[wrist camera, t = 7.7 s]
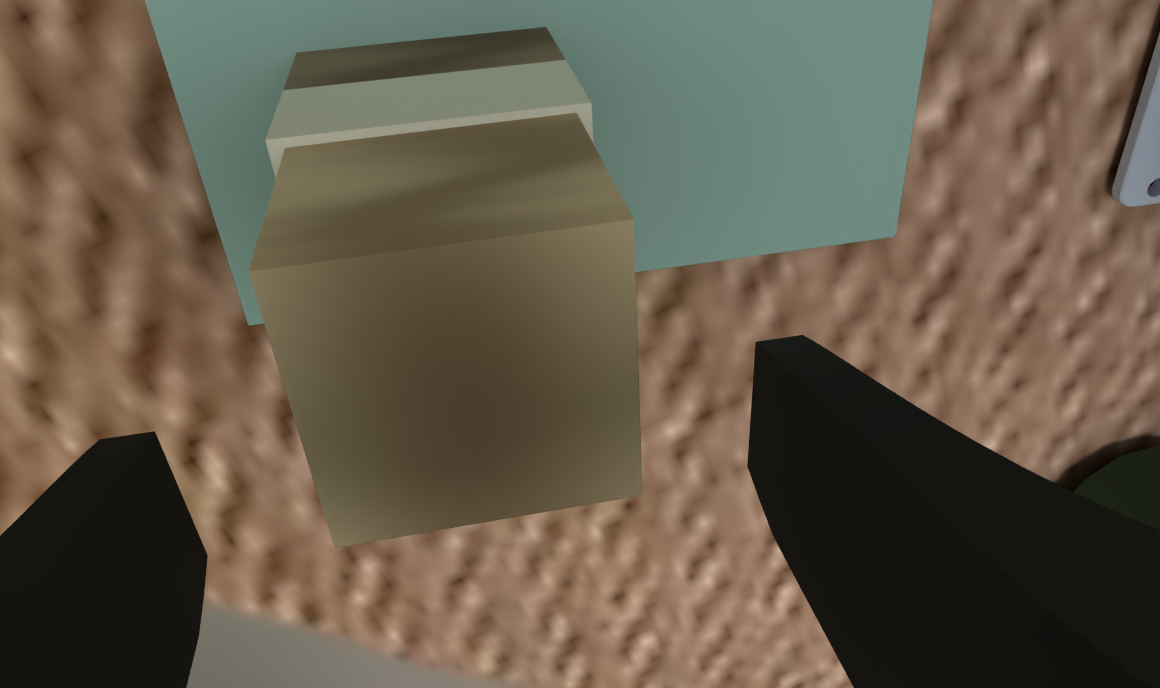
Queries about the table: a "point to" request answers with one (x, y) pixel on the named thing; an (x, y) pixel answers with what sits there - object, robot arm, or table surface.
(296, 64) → the walnut block
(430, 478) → the oak block
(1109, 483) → the character mug
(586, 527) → the table surface
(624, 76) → the teal board
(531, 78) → the cream block
